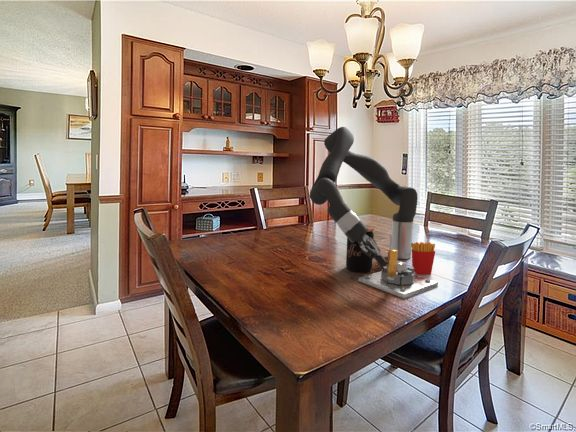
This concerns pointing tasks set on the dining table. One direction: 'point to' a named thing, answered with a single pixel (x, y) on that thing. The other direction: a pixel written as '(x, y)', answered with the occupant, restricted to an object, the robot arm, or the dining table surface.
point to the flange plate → (396, 289)
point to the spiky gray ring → (391, 273)
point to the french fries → (423, 257)
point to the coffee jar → (358, 255)
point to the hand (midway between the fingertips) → (385, 265)
